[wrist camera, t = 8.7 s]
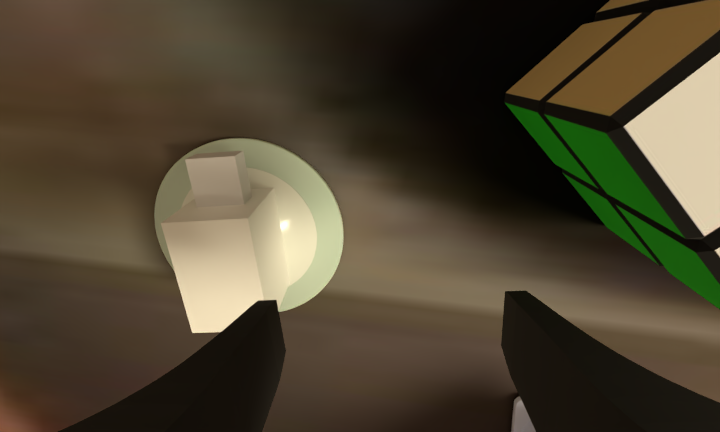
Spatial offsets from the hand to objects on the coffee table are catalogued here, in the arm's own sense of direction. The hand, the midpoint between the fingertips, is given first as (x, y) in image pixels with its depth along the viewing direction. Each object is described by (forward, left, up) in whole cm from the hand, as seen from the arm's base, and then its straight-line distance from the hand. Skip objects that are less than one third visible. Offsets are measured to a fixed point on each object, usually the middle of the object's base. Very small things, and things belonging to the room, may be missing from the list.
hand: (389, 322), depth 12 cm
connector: (+8, 0, -10) cm, 13 cm away
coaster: (+8, +1, -10) cm, 13 cm away
